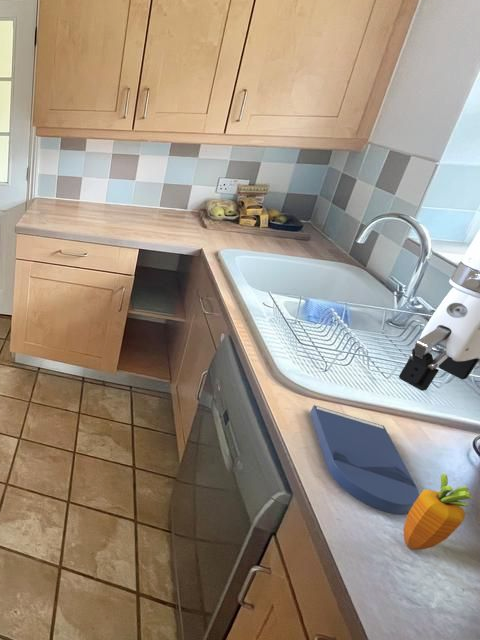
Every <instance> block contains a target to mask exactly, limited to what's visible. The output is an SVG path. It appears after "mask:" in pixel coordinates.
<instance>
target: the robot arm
mask: <svg viewBox="0 0 480 640" xmlns="http://www.w3.org/2000/svg"><path fill="white" fill-rule="evenodd" d="M448 283H449V284H450V285H451V286H452V288H451V289H450V290H449V292H448V293H447V294H446V296H444V298H443V299H442V301H441V302H440V304H439V305H438V307H436V309H435V311H434V313H433V314H432V316H431V317H430V318H429V320H428V321H427V322H426V325H425V327H424V328H423V330H422V332H421V334H420V336H419V338H418V340H417V341H416V342H415V344H414V348H412V350H411V353H410V355H409V357H408V360H407V361H406V364H405V365H404V366H403V368H402V370H401V372H400V374H399V375H398V378H399V380H401V381H403V382H405V383H406V384H408V385H410V386H412V387H413V388H416V389H417V390H418V391H419V390H420V391H422V392H425V391H427V390H428V388H429V387H430V385H431V384H432V382H433V381H434V379H435V377H436V376H437V374H438V373H439V371H440V370H442V371H444V372H446V373H448V374H450V375H451V376H454V377H456V378H458V379H459V380H466V379H468V377H469V376H470V374H471V373H472V371H473V369H475V367H476V365H477V364H478V363H479V361H480V228H479V229H478V231H477V232H476V234H475V236H474V237H473V239H472V241H471V243H470V244H469V246H468V247H467V249H466V251H465V253H464V255H463V256H462V258H461V260H460V261H459V263H458V265H457V267H456V268H455V270H454V271H453V273H452V275H451V277H450V278H449V280H448ZM440 347H441V348H440ZM442 348H443V349H442ZM431 352H432V353H435V354H436V355H437V356H435V358H434V357H433V354H432V353H431ZM438 368H439V369H440V370H439V369H438Z"/></svg>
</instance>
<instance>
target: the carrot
mask: <svg viewBox="0 0 480 640" xmlns="http://www.w3.org/2000/svg"><path fill="white" fill-rule="evenodd" d="M448 479H449V478H448V474H444V473H441V474H440V491H436V490H430V489H423V490H422V491H421V492H420V493H419V497H418V498H417V500H416V501H415V503H414V504H413V506H412V508H411V509H410V511H409V512H408V513H407V515H406V518H405V520H404V523H403V530H402V531H403V540H404V543H405V545H406V547H407V548H408V550H413V551H421V550H427V549H432V548H433V547H435V546H438V545H439V544H440V543H442V542H444V541H445V540H447V539H448V538H449V537H450V536H451V535H453V533H454V532H455V531H456V530H457V529H458V528H459V527H460V525H462V523H463V521H464V520H465V519H464V518H465V517H466V511H465V510H464V509H463V508H462V507H466V508H467V507H468V504H467V503H466V502H464V500H469V499H471V498H472V493H470V488H469V487H467V486H460V487H457V488H456V489H453V487H452V486H451V485H448V483H449V481H448Z"/></svg>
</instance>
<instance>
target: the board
mask: <svg viewBox="0 0 480 640" xmlns="http://www.w3.org/2000/svg"><path fill="white" fill-rule="evenodd" d="M309 416H310V419H311V422H312V425H313V428H314V431H315V434H316V437H317V440H318V443H319V446H320V449H321V452H322V455H323V458H324V461H325V465H326V467H327V469H328V472H329V474H330V475H331V477H332V478H333V480H334V481H335V482H336V483H337V484H338V485H339V486H340V487H341V488H342V489H343V490H344V491H346V492H347V493H348V494H350V495H351V496H352V497H354V498H355V499H357V500H359V501H360V502H362V503H364V504H366V505H367V506H369V507H372V508H374V509H376V510H378V511H382V512H385V513H389V514H395V515H403V514H408V513H409V511H410V509H411V508H412V506H413V504H414V503H415V501H416V500H417V498H418V497H419V495H420V492H419V488H418V486H417V485H416V482H415V481H414V479H413V477H412V476H411V473H410V472H409V470H408V468H407V466H406V464H405V463H404V460H403V459H402V457H401V455H400V453H399V452H398V449H397V447H396V446H395V444H394V442H393V440H392V438H391V435H390V434H389V433H388V430H387V429H386V427H385V425H384V424H380V423H375V422H373V421H369V420H366V419H363V418H359V417H355V416H352V415H349V414H345V413H341V412H338V411H335V410H331V409H329V408H325V407H321V406H318V405H315V404H313V406H312V408H311V410H310V412H309Z"/></svg>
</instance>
